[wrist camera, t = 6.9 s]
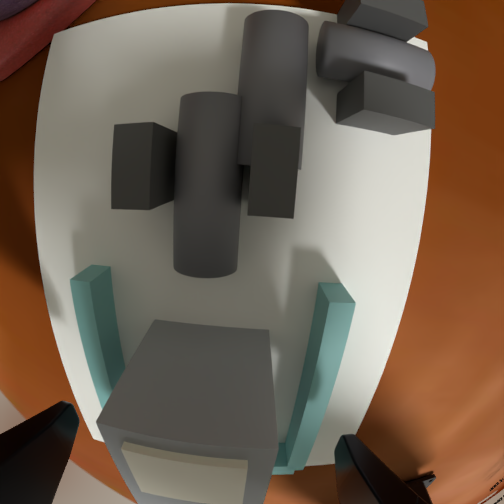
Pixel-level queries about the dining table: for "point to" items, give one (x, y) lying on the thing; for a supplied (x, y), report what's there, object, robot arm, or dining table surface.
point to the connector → (195, 416)
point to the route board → (270, 250)
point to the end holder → (313, 374)
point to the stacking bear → (32, 28)
